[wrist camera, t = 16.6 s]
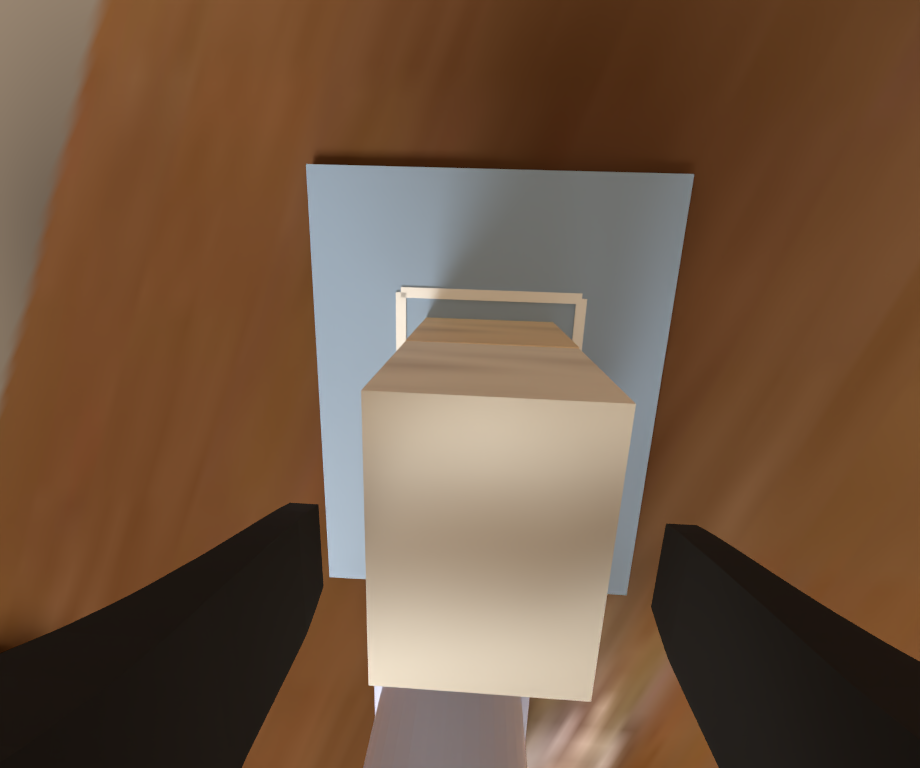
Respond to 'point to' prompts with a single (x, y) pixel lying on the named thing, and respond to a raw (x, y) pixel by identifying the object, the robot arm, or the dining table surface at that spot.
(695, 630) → the robot arm
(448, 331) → the maple brick
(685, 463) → the dining table surface
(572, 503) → the birch brick
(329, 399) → the board
